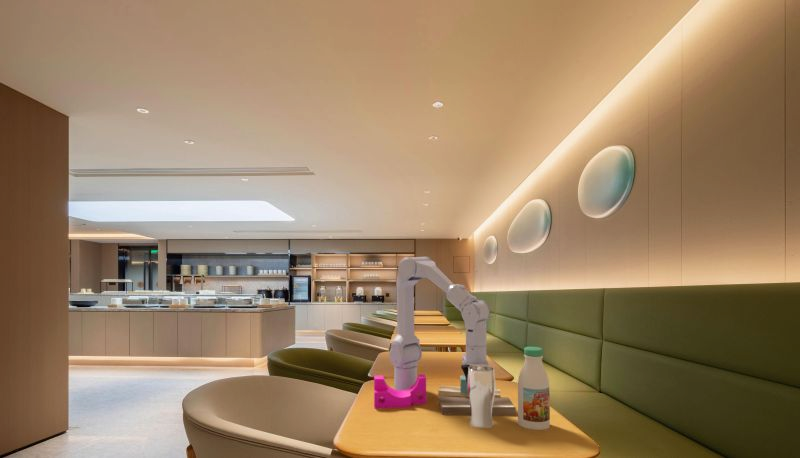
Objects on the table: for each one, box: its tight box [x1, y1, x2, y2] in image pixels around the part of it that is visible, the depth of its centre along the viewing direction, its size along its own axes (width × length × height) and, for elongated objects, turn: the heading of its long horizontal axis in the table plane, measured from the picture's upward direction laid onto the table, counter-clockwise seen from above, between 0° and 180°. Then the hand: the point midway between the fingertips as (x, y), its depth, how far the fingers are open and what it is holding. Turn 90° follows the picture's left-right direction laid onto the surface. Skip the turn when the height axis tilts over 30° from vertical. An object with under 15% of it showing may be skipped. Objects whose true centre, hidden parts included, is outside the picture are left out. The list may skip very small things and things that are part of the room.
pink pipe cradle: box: [373, 374, 427, 409], centre depth 134 cm, size 15×6×8 cm, turn 94°
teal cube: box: [459, 375, 468, 394], centre depth 137 cm, size 4×4×4 cm
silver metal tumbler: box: [468, 365, 496, 429], centre depth 117 cm, size 7×7×15 cm
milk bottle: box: [517, 346, 551, 431], centre depth 117 cm, size 8×8×20 cm
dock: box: [438, 396, 516, 416], centre depth 129 cm, size 8×20×2 cm, turn 90°
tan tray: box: [437, 385, 501, 401], centre depth 138 cm, size 5×18×3 cm, turn 78°
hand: (476, 393), depth 130 cm, fingers open, 4 cm apart
